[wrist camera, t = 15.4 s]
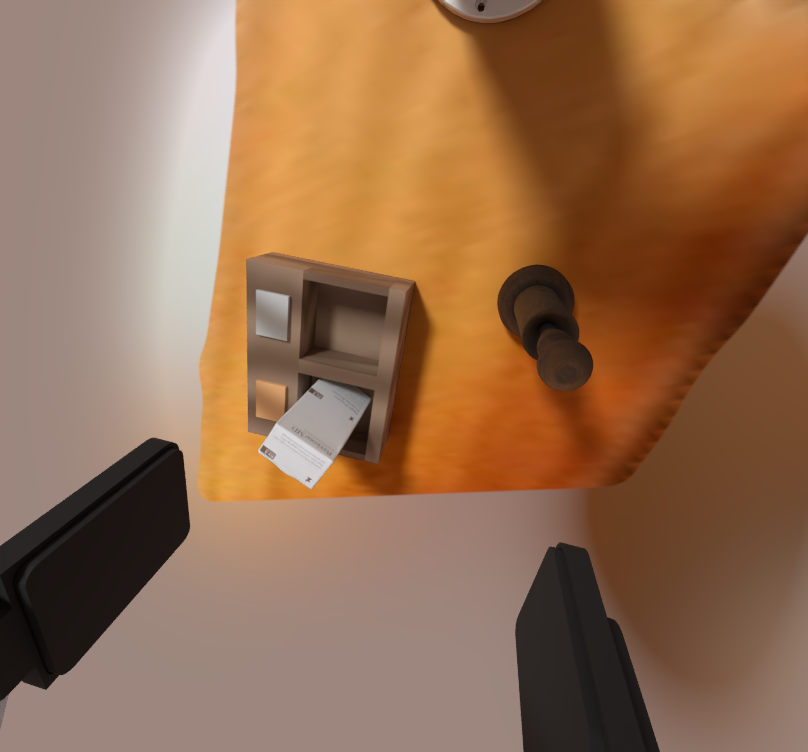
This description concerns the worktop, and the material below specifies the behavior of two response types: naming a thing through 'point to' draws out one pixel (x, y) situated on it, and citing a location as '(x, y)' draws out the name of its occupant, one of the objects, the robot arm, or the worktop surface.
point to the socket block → (324, 341)
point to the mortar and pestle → (546, 325)
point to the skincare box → (315, 430)
